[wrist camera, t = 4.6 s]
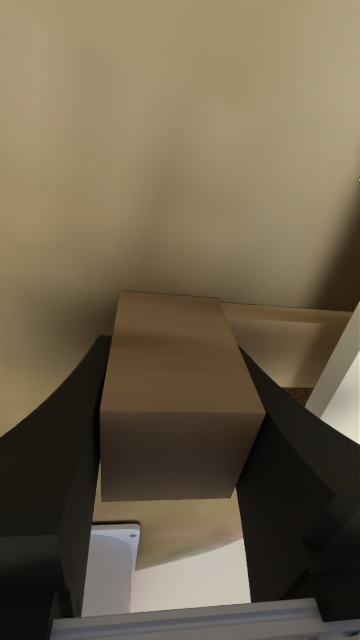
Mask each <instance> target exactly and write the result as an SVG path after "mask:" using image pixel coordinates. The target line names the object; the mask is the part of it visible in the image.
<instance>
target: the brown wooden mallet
mask: <svg viewBox="0 0 360 640" xmlns="http://www.w3.org/2000/svg"><path fill="white" fill-rule="evenodd" d="M353 313H354V312H345V311H331V310H318V309H304V308H290V307H276V306H262V305H248V304H234V303H220V302H219V300H218V298H210V297H197V296H183V295H170V294H156V293H143V292H129V291H120V296H119V301H118V307H117V313H116V319H115V325H114V330H113V336H112V342H111V348H110V354H109V360H108V365H107V371H106V377H105V383H104V389H103V394H102V400H101V406H100V452H101V502H114V501H148V500H182V499H216V498H231V496H232V493H233V491H234V488H235V486H236V484H237V481H238V479H239V476H240V474H241V472H242V469H243V467H244V464H245V462H246V460H247V457H248V455H249V453H250V450H251V448H252V445H253V443H254V441H255V438H256V436H257V433H258V431H259V429H260V426H261V424H262V421H263V419H264V417H265V414H266V412H265V409H264V407H263V405H262V402H261V400H260V398H259V395H258V393H257V390H256V388H255V386H254V383H253V381H252V379H251V376H250V374H249V371H248V369H247V367H246V364H245V362H244V360H243V357H242V355H241V352H240V350H239V348H238V345H239V346H240V347H241V348H242V349H243V350H244V351H245V352H246V353H247V354H248V355H249V356H250V357H251V358H252V359H253V361H254V362H255V363H256V364H257V365H258V366H259V367H260V368H261V369H262V370H263V371H264V372H265V373H266V374H267V375H268V376H269V377H270V378H271V379H272V380H274V381H275V382H276V383H277V384H278V385H279V386H280V387H298V388H315V386H316V384H317V382H318V380H319V378H320V376H321V374H322V372H323V370H324V369H325V367H326V365H327V363H328V361H329V359H330V357H331V355H332V353H333V351H334V349H335V347H336V346H337V344H338V342H339V340H340V338H341V336H342V334H343V332H344V330H345V328H346V326H347V324H348V322H349V321H350V319H351V317H352V315H353ZM237 344H238V345H237Z"/></svg>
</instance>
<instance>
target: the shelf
mask: <svg viewBox="0 0 360 640" xmlns="http://www.w3.org/2000/svg"><path fill="white" fill-rule="evenodd" d="M359 181H360V179H359ZM305 408H306V409H308V410H309V411H310V412H312V413H313V414H314V415H315V416H317V417H318V418H320V419H321V420H322V421H324V422H325V423H327V424H328V425H330V426H331V427H333V428H334V429H336V430H337V431H339V432H340V433H342V434H343V435H345V436H347V437H348V438H350V439H352V440H353V441H355V442H356V443H358V444H360V301H359V303H358V305H357V307H356V309H355V311H354V313H353V315H352V317H351V319H350V321H349V322H348V324H347V326H346V328H345V330H344V332H343V334H342V336H341V338H340V340H339V342H338V344H337V346H336V347H335V349H334V351H333V353H332V355H331V357H330V359H329V361H328V363H327V365H326V367H325V369H324V370H323V372H322V374H321V376H320V378H319V380H318V382H317V384H316V386H315V388H314V390H313V392H312V394H311V395H310V397H309V399H308V401H307V403H306V405H305Z"/></svg>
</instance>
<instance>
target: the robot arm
mask: <svg viewBox="0 0 360 640" xmlns="http://www.w3.org/2000/svg"><path fill="white" fill-rule="evenodd" d="M111 342H112V336H106V335H100V336H99V337H97V339H96V341H95V342H94V344H93V345H92V347H91V348H90V350H89V351H88V353H87V354H86V355H85V357H84V358H83V359H82V361H81V362H80V363H79V364H78V366H77V367H76V368H75V369H74V371H73V372H72V373H71V374H70V375H69V376H68V377H67V378H66V380H65V381H64V382H63V383H62V384H61V385H60V386H59V387H58V388H57V389H56V390H55V391H54V392H53V393H52V394H51V395H50V396H49V397H48V398H47V399H46V400H45V401H44V402H43V403H42V404H41V405H40V406H39V407H37V408H36V409H35V410H34V411H33V412H32V413H30V414H29V415H28V416H27V417H26V418H25V419H23V420H22V421H21V422H20V423H19V424H17V425H16V426H15V427H13V428H12V429H11V430H10V431H8V432H7V433H6V434H4V435H3V436H1V437H0V640H360V444H358V443H356V442H355V441H353V440H352V439H350V438H348V437H347V436H345V435H343V434H342V433H340V432H339V431H337V430H336V429H334V428H333V427H331V426H330V425H328V424H327V423H325V422H324V421H322V420H321V419H320V418H318V417H317V416H315V415H314V414H313V413H312V412H310V411H309V410H308V409H306V408H305V407H304V406H302V405H301V404H300V403H299V402H297V401H296V400H295V399H294V398H292V397H291V396H290V395H289V394H288V393H287V392H286V391H285V390H283V389H282V388H281V387H280V386H279V385H278V384H277V383H276V382H275V381H274V380H272V379H271V378H270V377H269V376H268V375H267V374H266V373H265V372H264V371H263V370H262V369H261V368H260V367H259V366H258V365H257V364H256V363H255V362H254V361H253V359H252V358H251V357H250V356H249V355H248V354H247V353H246V352H245V351H244V350H243V349H242V348H241V347H240V346H239V345H238V344H237V345H238V348H239V350H240V352H241V355H242V357H243V360H244V362H245V364H246V367H247V369H248V371H249V374H250V376H251V379H252V381H253V383H254V386H255V388H256V390H257V393H258V395H259V398H260V400H261V402H262V405H263V407H264V409H265V412H266V414H265V417H264V419H263V421H262V424H261V426H260V429H259V431H258V433H257V436H256V438H255V441H254V443H253V445H252V448H251V450H250V453H249V455H248V457H247V460H246V462H245V464H244V467H243V469H242V472H241V474H240V476H239V479H238V481H237V484H236V491H237V498H238V504H239V510H240V516H241V523H242V531H243V538H244V545H245V552H246V561H247V569H248V578H249V587H250V596H251V603H245V604H233V605H221V606H209V607H197V608H186V609H173V610H162V611H150V612H137V613H130V600H131V578H133V577H134V572H135V565H136V557H137V550H138V543H139V536H140V526H139V525H138V524H116V525H92V519H93V511H94V503H95V494H96V487H97V479H98V471H99V464H100V459H101V452H100V406H101V400H102V394H103V389H104V383H105V377H106V371H107V365H108V360H109V354H110V348H111Z"/></svg>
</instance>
